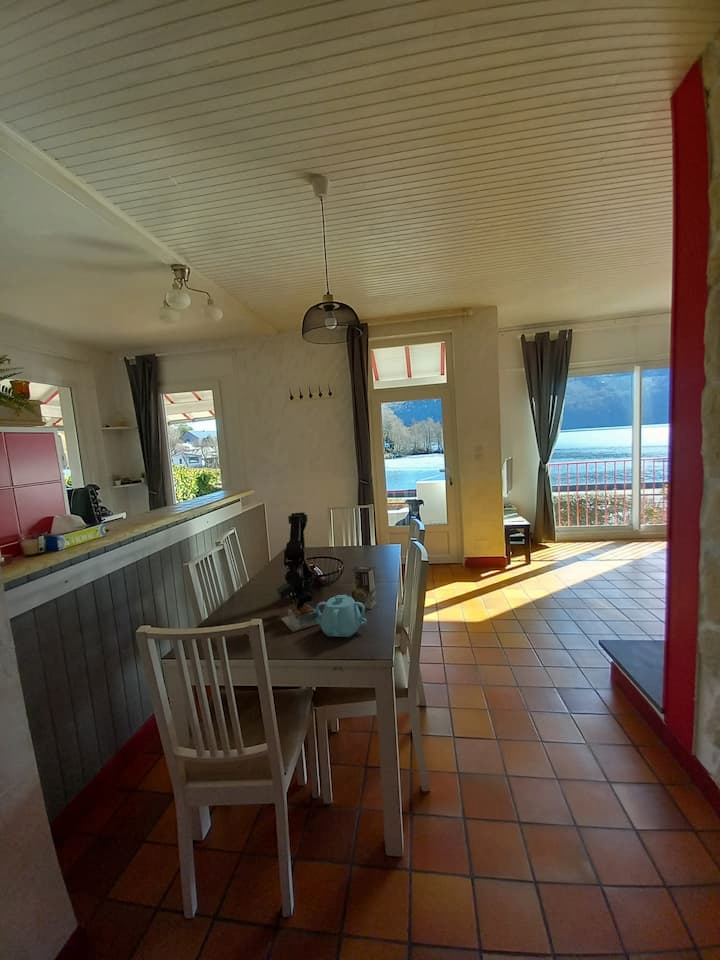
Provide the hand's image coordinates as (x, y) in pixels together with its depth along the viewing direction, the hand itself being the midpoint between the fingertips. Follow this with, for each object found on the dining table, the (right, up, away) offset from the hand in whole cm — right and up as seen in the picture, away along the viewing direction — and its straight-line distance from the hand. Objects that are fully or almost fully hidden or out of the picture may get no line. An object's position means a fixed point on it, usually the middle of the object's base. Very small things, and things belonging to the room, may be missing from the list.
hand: (299, 612), depth 161 cm
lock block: (+3, -2, -4) cm, 6 cm away
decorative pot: (+19, -2, -16) cm, 24 cm away
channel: (+3, -2, -4) cm, 5 cm away
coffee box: (+27, +1, +7) cm, 28 cm away
